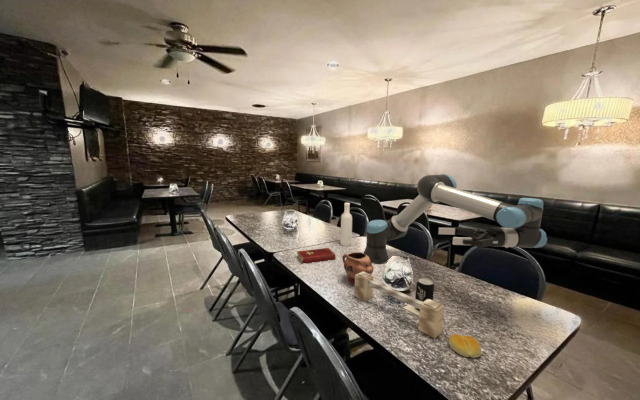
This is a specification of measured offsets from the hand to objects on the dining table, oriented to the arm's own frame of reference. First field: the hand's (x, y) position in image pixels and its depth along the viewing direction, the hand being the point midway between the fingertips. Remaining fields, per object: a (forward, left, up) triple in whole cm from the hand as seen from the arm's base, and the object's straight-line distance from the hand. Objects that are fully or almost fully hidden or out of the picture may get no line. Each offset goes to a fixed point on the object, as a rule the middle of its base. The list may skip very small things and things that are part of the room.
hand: (445, 235), depth 103 cm
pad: (-3, -9, -30) cm, 31 cm away
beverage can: (-3, -9, -30) cm, 31 cm away
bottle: (-78, +26, -30) cm, 87 cm away
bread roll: (+17, -19, -30) cm, 40 cm away
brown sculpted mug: (-37, -11, -30) cm, 49 cm away
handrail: (-10, -20, -30) cm, 37 cm away
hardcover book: (-72, -7, -31) cm, 79 cm away
